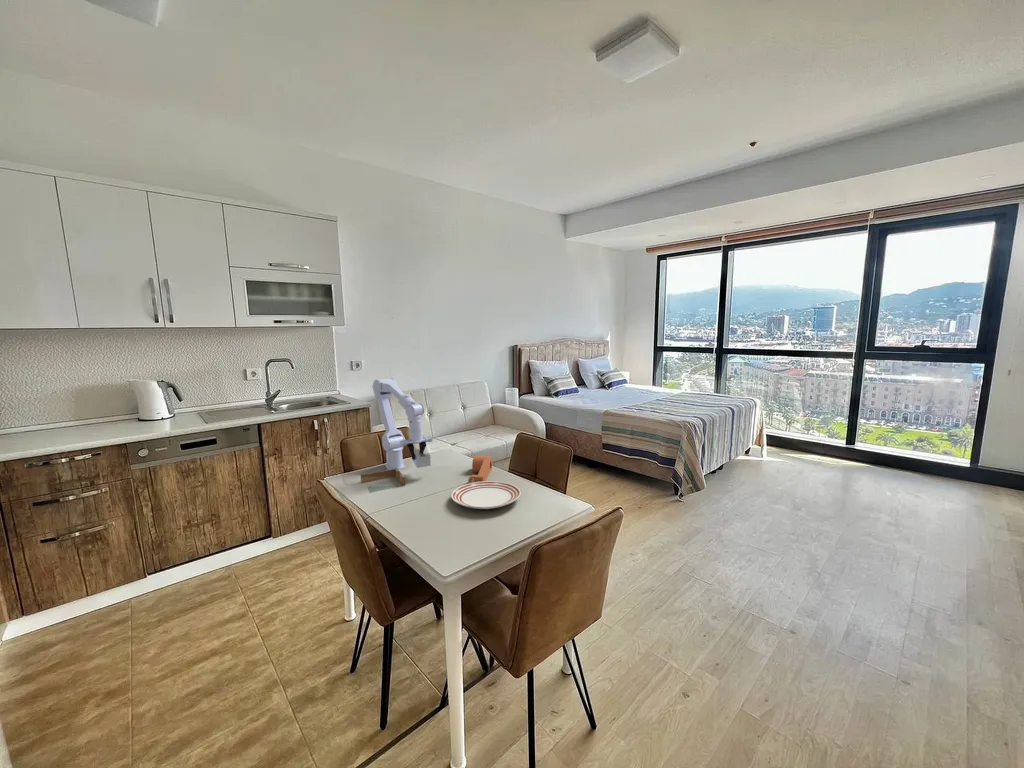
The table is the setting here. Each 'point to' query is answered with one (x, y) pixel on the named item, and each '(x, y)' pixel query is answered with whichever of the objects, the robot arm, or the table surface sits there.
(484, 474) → the crank
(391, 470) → the brown wooden l-shaped piece
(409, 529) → the table surface
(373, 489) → the pad
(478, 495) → the dinner plate
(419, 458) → the bracket
